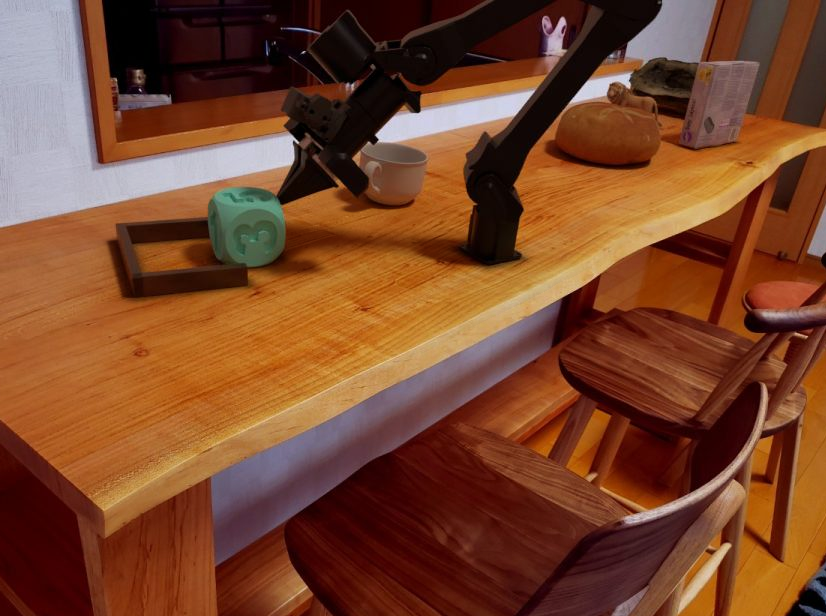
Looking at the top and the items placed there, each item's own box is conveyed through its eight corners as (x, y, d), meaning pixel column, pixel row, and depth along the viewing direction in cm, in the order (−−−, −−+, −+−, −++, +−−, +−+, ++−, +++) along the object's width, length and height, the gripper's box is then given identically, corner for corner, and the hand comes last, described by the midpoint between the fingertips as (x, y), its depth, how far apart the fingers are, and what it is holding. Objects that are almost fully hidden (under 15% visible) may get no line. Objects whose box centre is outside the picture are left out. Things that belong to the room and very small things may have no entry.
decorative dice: (208, 247, 99) (205, 188, 95) (266, 241, 103) (266, 184, 98) (224, 271, 93) (222, 209, 89) (286, 264, 96) (286, 204, 92)
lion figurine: (598, 120, 184) (607, 81, 180) (604, 116, 188) (612, 78, 184) (659, 130, 179) (669, 91, 174) (663, 126, 183) (673, 88, 178)
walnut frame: (217, 233, 104) (216, 216, 103) (248, 285, 90) (247, 266, 89) (117, 241, 99) (115, 223, 98) (134, 297, 85) (131, 277, 84)
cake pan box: (721, 136, 178) (744, 57, 169) (740, 141, 175) (765, 61, 166) (675, 145, 168) (697, 61, 158) (694, 150, 164) (718, 65, 155)
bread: (686, 168, 151) (701, 117, 146) (590, 173, 143) (601, 120, 138) (617, 138, 169) (627, 92, 164) (528, 141, 161) (536, 93, 156)
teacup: (385, 184, 128) (389, 137, 124) (437, 201, 122) (442, 152, 118) (330, 202, 118) (331, 151, 114) (383, 220, 113) (386, 168, 109)
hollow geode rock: (721, 143, 192) (755, 97, 193) (714, 111, 182) (750, 62, 183) (629, 115, 210) (661, 73, 210) (618, 85, 200) (651, 40, 200)
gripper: (300, 50, 97) (217, 138, 98) (350, 81, 82) (251, 183, 84) (353, 112, 104) (275, 193, 105) (408, 150, 89) (316, 244, 91)
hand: (278, 202), depth 96 cm, fingers closed, pressing on decorative dice
